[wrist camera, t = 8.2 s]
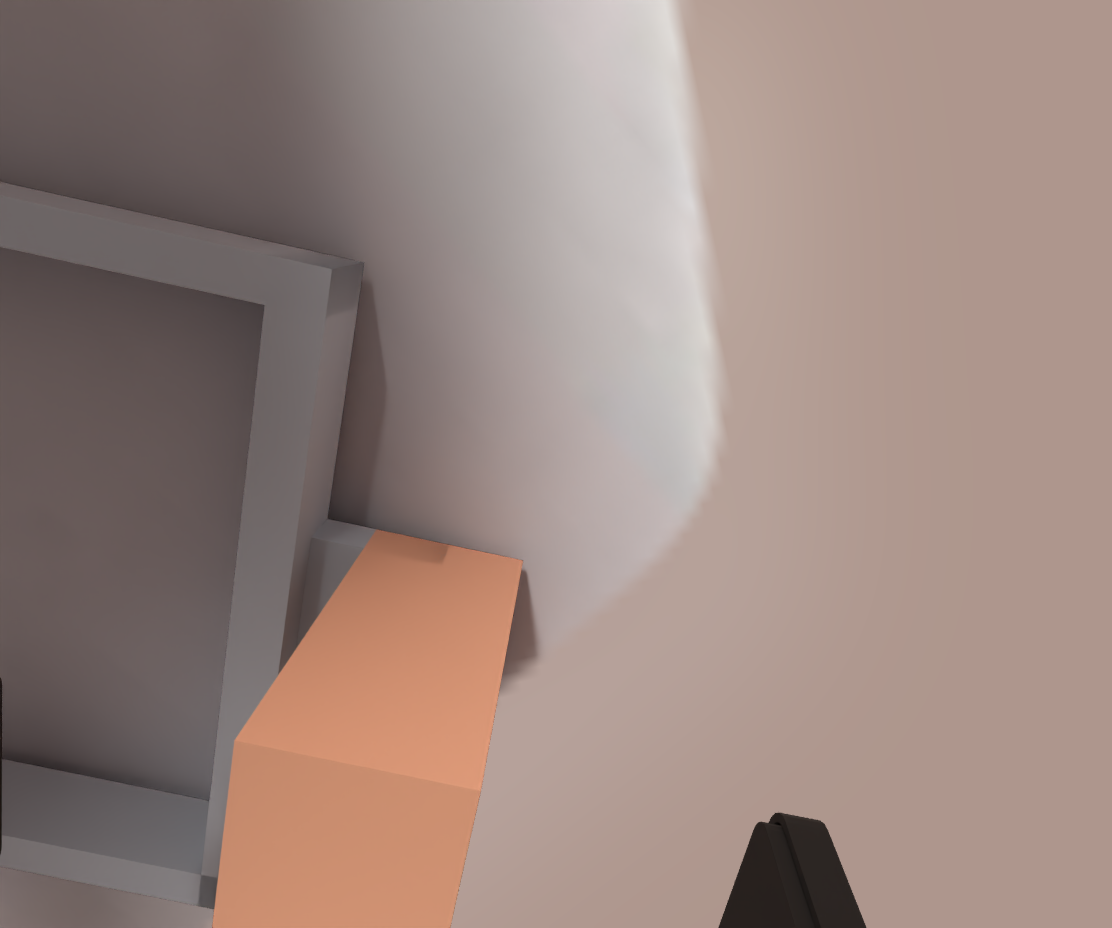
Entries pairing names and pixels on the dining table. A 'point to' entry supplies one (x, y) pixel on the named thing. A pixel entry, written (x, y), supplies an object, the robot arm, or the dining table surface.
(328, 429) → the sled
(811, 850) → the robot arm
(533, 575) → the dining table surface
